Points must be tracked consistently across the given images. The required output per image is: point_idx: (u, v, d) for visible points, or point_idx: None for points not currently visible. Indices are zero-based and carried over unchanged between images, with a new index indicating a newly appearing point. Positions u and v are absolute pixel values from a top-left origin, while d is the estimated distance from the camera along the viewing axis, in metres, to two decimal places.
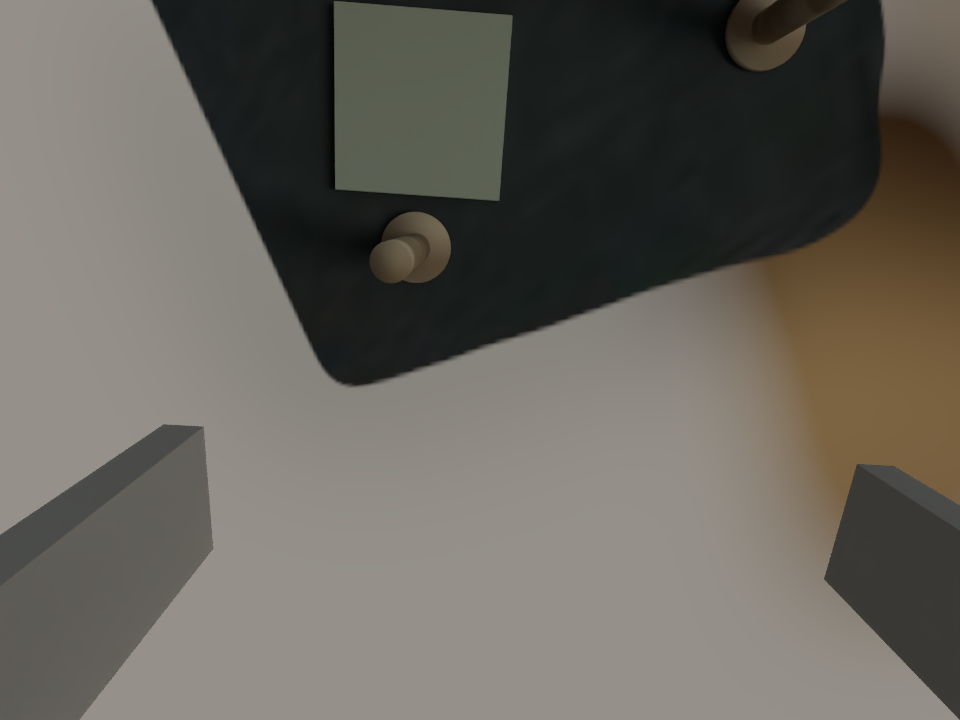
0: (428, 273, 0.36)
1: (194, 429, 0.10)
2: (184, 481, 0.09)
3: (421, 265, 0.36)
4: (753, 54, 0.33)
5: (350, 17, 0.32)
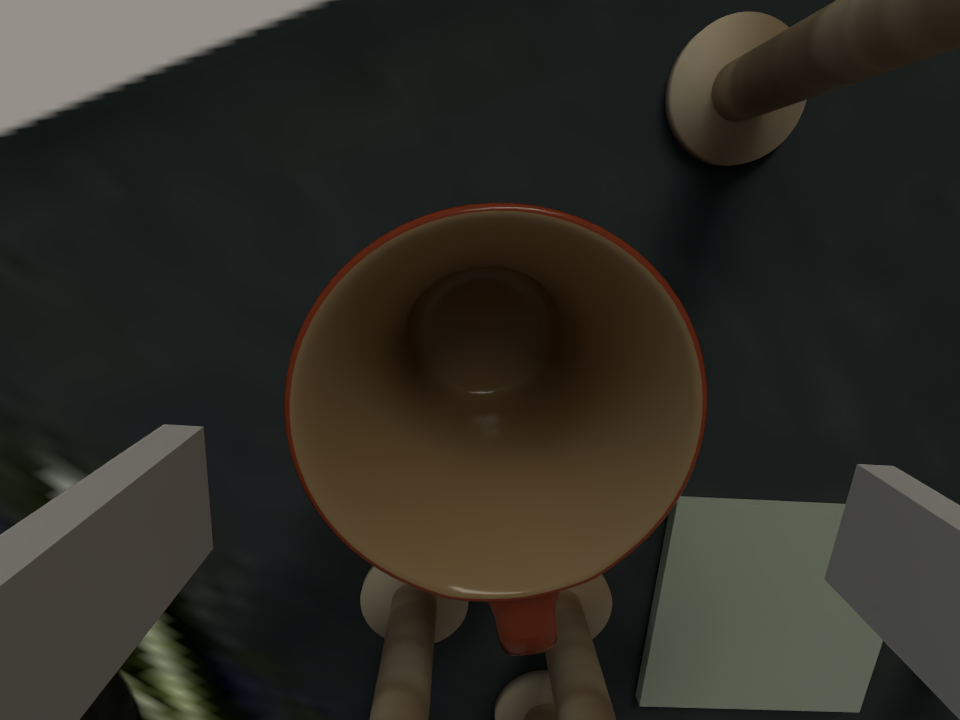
0: None
1: (194, 429, 0.10)
2: (184, 481, 0.09)
3: None
4: (780, 112, 0.18)
5: (659, 689, 0.25)
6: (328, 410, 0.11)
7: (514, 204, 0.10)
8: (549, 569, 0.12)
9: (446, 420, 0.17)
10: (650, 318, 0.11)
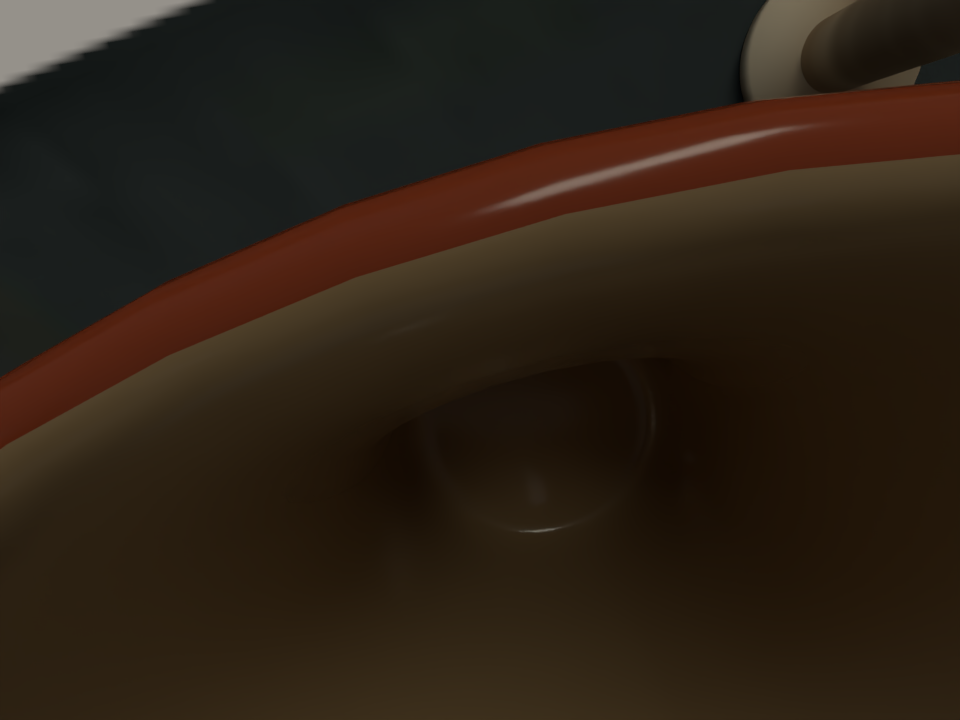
0: None
1: None
2: None
3: None
4: (887, 81, 0.15)
5: None
6: None
7: None
8: None
9: (469, 618, 0.09)
10: None
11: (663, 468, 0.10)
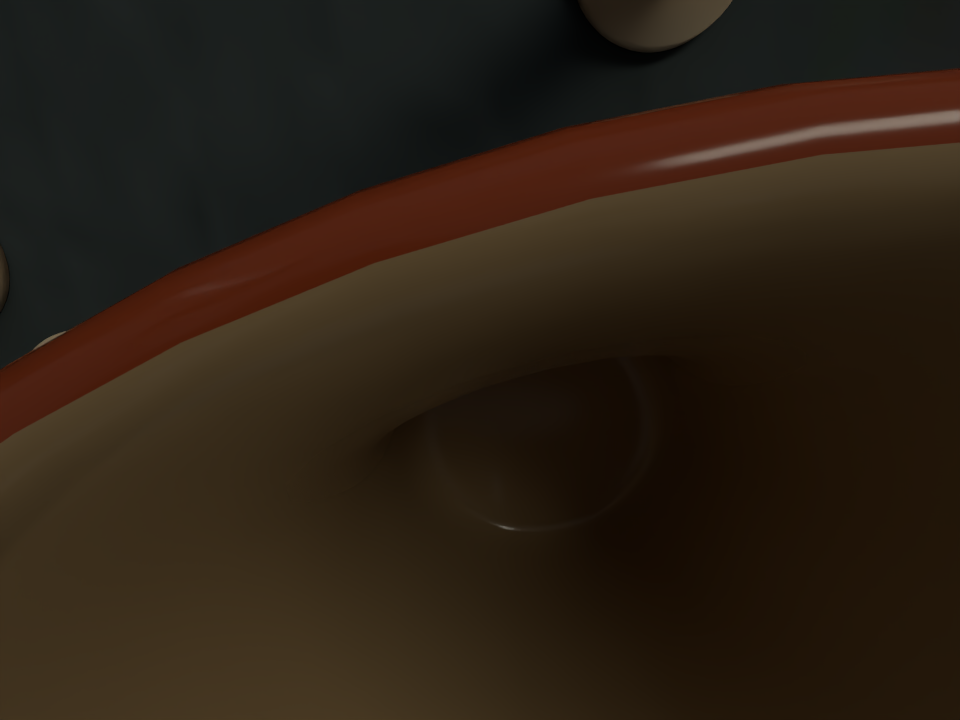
0: None
1: None
2: None
3: None
4: (685, 9, 0.14)
5: None
6: None
7: None
8: None
9: (469, 618, 0.09)
10: None
11: (664, 468, 0.10)
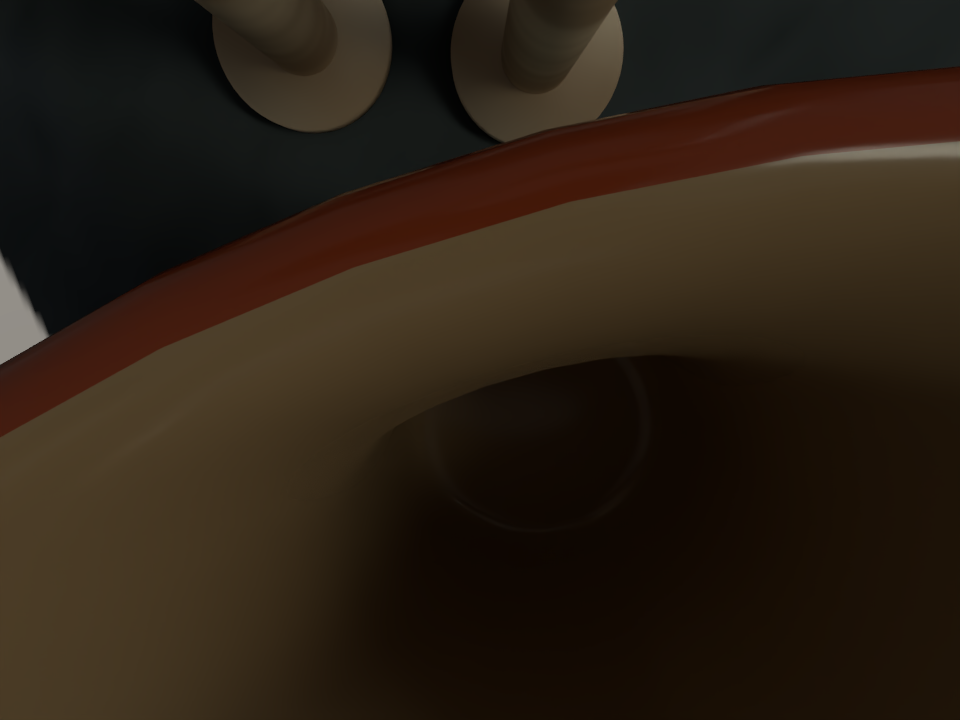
0: None
1: None
2: None
3: None
4: None
5: None
6: None
7: None
8: None
9: (470, 619, 0.09)
10: None
11: (664, 468, 0.10)
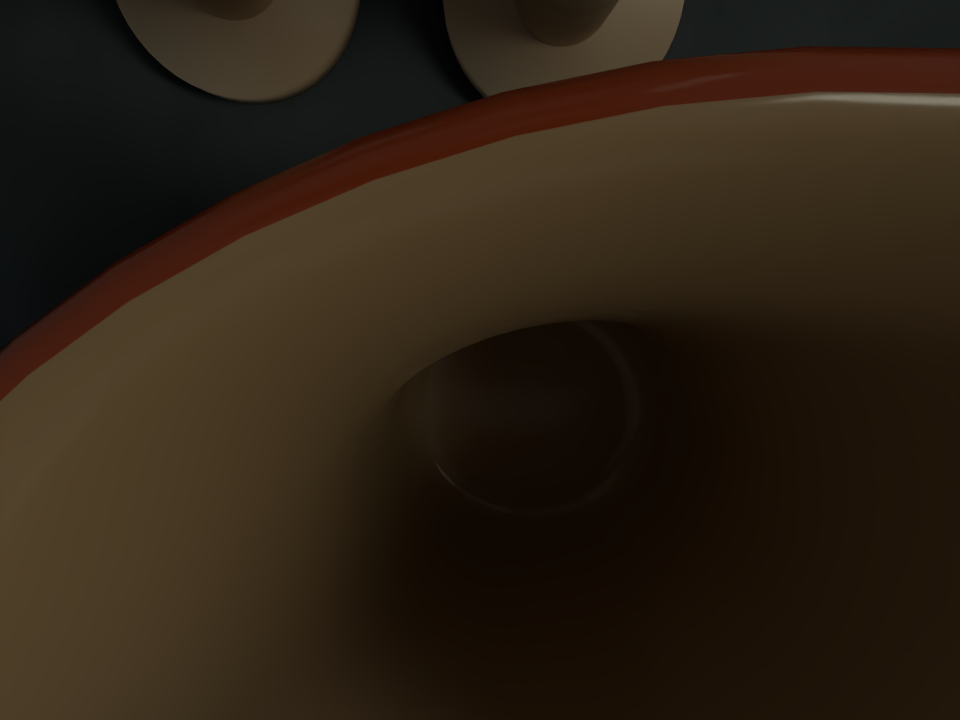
0: None
1: None
2: None
3: None
4: None
5: None
6: None
7: None
8: None
9: (465, 591, 0.09)
10: None
11: (651, 452, 0.11)
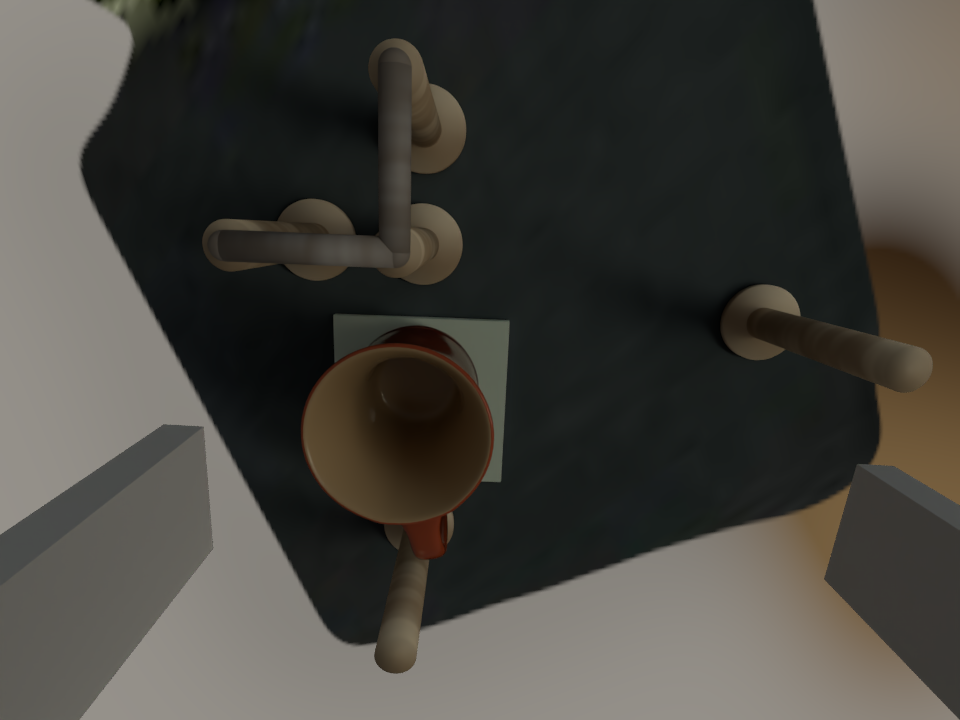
0: None
1: (194, 429, 0.10)
2: (184, 481, 0.09)
3: None
4: (749, 347, 0.33)
5: (350, 328, 0.33)
6: (321, 433, 0.24)
7: (397, 344, 0.23)
8: (429, 508, 0.25)
9: (392, 436, 0.30)
10: (466, 388, 0.24)
11: (458, 395, 0.32)
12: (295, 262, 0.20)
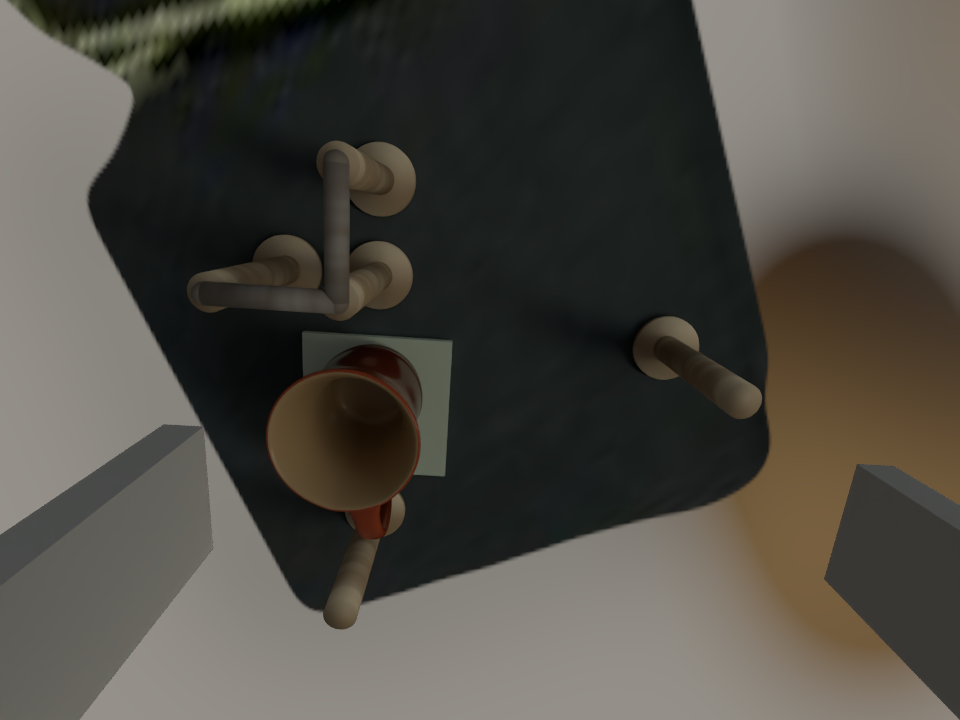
0: None
1: (194, 429, 0.10)
2: (184, 481, 0.09)
3: None
4: (655, 368, 0.39)
5: (316, 344, 0.38)
6: (283, 437, 0.30)
7: (342, 369, 0.28)
8: (370, 499, 0.31)
9: (348, 437, 0.36)
10: (398, 405, 0.30)
11: None
12: (259, 308, 0.26)
